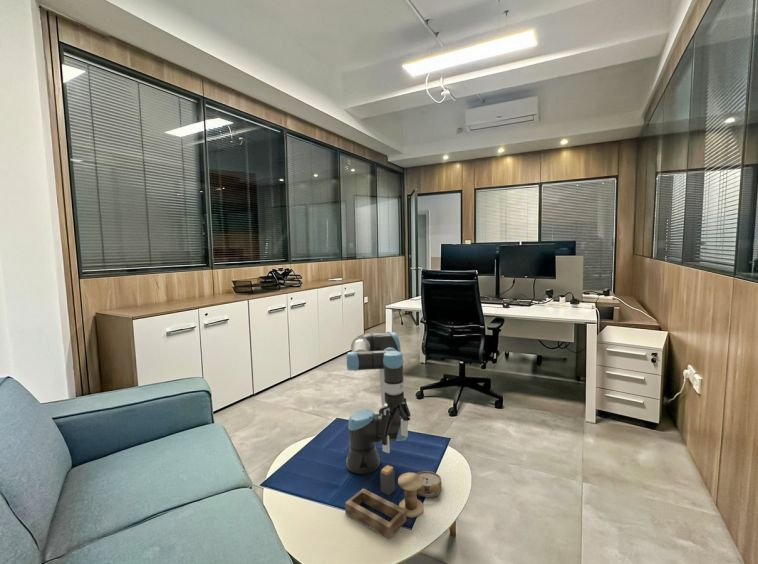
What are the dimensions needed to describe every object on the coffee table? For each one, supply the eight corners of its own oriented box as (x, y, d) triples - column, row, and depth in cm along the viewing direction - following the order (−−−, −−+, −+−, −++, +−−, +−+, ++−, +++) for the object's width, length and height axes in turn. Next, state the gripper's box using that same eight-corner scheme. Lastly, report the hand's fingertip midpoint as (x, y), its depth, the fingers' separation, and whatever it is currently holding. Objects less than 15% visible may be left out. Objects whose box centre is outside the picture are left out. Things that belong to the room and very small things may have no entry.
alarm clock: (441, 471, 150) (441, 488, 135) (441, 484, 149) (441, 502, 134) (414, 470, 151) (411, 486, 137) (414, 482, 151) (411, 500, 136)
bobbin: (394, 510, 132) (393, 481, 131) (407, 497, 139) (407, 469, 138) (414, 521, 126) (413, 491, 125) (428, 506, 133) (427, 478, 132)
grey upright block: (380, 491, 142) (380, 469, 142) (387, 486, 146) (386, 464, 145) (388, 495, 140) (388, 472, 139) (394, 489, 143) (394, 467, 142)
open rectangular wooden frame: (345, 513, 131) (345, 502, 131) (363, 498, 139) (363, 488, 139) (389, 538, 119) (388, 527, 118) (406, 520, 126) (406, 509, 126)
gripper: (384, 406, 127) (386, 462, 130) (418, 382, 148) (419, 432, 150) (367, 401, 132) (369, 456, 134) (402, 379, 152) (403, 427, 154)
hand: (395, 443), depth 142 cm, fingers open, 13 cm apart
